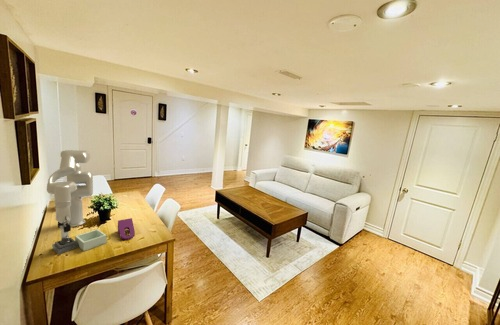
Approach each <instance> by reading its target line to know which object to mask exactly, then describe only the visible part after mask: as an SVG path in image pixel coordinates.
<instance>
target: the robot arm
mask: <svg viewBox="0 0 500 325" xmlns="http://www.w3.org/2000/svg"><path fill="white" fill-rule="evenodd" d="M60 157H61V159H60V164H59V169H57V170H55V171H54V172H53V173H51V175H49V177H48V180H47V184H46V192H47V193H48V194H51V195H54V196H53V197H54V208H55V220H56V221H57V228H58V229H61V228H60V225H62V224H64V233H65V232H68V233H70V232H71V228H72V227H74V228H75V227H78V226H82V225H84V224H85V223H86V220H85V219H84V215H83V214H84V213H83V201H82V199H79V198H78V197H81V198H85V197H86V198H87V197H91V196H93V193H94V183H93V182H94V180H93V174H92V172H91V171H82V166H81V164H86V163H88V162H89V160H90V159H91V153H90V152H89V151H88V150H80V149H79V150H77V149H76V150H73V149H70V150H69V149H67V150H66V149H65V150H62V151H60ZM64 177H66V181H58V180H59V179H62V178H64ZM79 184H80V185H79ZM81 184H82V185H81Z"/></svg>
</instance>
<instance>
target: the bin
mask: <svg viewBox="0 0 500 325" xmlns="http://www.w3.org/2000/svg"><path fill="white" fill-rule="evenodd" d="M107 239H108V238H107V234H106V233H104V232H102V231H101V230H100V229H98V228H97V229H93V230H90V231H87V232H84V233H80V234H78V235H75V236H74V240H75V241H76V242H77V243H78V249H81V250H82V251H83V252H86V251H88V250H92V249H94V248H97V247H99V246H102V245H105V244H107V243H108V242H107V241H108V240H107Z"/></svg>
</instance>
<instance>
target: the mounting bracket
mask: <svg viewBox="0 0 500 325" xmlns="http://www.w3.org/2000/svg"><path fill="white" fill-rule="evenodd" d="M125 230H128V232H129V235H126V232H125ZM135 232H136V230H135V226H134V222H133V218H132V217H131V218H126V219H120V220H117V233H118V234H119V237H120V239H122V240H123V241H127V240H132V239H133V238H134V237H135Z"/></svg>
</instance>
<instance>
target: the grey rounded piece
mask: <svg viewBox="0 0 500 325" xmlns="http://www.w3.org/2000/svg"><path fill="white" fill-rule="evenodd" d="M59 229H60V239H61V242H60V245H64V244H67V243H70V239H69V238H70V237H69V233H70V232H65V233H64V224H62V225H60V228H59Z"/></svg>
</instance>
